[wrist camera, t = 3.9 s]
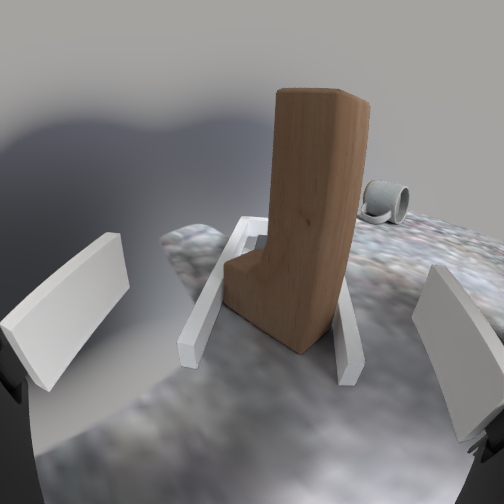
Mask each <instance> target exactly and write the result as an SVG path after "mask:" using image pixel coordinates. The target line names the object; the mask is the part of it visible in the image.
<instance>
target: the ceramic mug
mask: <svg viewBox="0 0 504 504" xmlns="http://www.w3.org/2000/svg"><path fill="white" fill-rule="evenodd" d="M409 200H410V193H409V189H408V187H407V186H404V185H399V184H395V183H390V182H385V181H381V180H373V181H371V182H369V183H368V185H367V186H366V188H365V191H364V194H363V206H362V208H361V216H362V218H363V219H364V220H365V221H366V222H369V223H371V224H380V223H384V222H385V221H390V222H392V223H395V224H400V223H401V222H402V221H403V220H404V218H405V216H406V214H407V210H408V206H409ZM365 210H366V211H367V212H369V213H370V214H372V215H375V216H378V217H371V216H368V215H366V214H365V213H364V212H365Z"/></svg>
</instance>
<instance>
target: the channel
mask: <svg viewBox="0 0 504 504" xmlns="http://www.w3.org/2000/svg"><path fill="white" fill-rule="evenodd" d="M267 231H268V218H260V217H249V216H241V218H240V220H239V222H238V224H237V226H236V227H235V229H234V231H233V233H232V235H231V237H230V239H229V241H228V242H227V244H226V246H225V248H224V250H223V252H222V254H221V256H220V258H219V259H218V261H217V263H216V265H215V267H214V269H213V271H212V273H211V275H210V277H209V279H208V281H207V282H206V284H205V286H204V288H203V290H202V292H201V294H200V296H199V298H198V300H197V302H196V304H195V306H194V308H193V310H192V312H191V314H190V316H189V318H188V320H187V322H186V324H185V326H184V328H183V330H182V332H181V334H180V336H179V338H178V340H177V342H176V343H177V348H178V353H179V358H180V363H181V366H184V367H188V368H193V369H197V368H198V365H199V362H200V360H201V357H202V355H203V352H204V349H205V347H206V344H207V341H208V339H209V336H210V333H211V331H212V328H213V326H214V323H215V320H216V318H217V315H218V313H219V310H220V307H221V305H222V302H223V299H224V271H223V265H224V263H225V262H226V261H228V260H231V259H233V258H236V257H238V256H241V253H242V250H243V248H244V245H245V243H246V240H247V237H248V236H253V237H258V239H257V242H256V246H255V249H259V248H260V249H264V247H265V244H266V241H267ZM255 249H254V250H255ZM332 330H333V338H334V346H335V355H336V365H337V375H338V385H345V386H354V385H355V383H356V381H357V380H358V378H359V376H360V374H361V371H362V369H363V367H364V365H365V359H364V354H363V349H362V344H361V340H360V335H359V331H358V327H357V322H356V318H355V314H354V310H353V306H352V302H351V298H350V294H349V291H348V287H347V283H346V279H345V276H344V279H343V283H342V287H341V291H340V295H339V299H338V303H337V306H336V310H335V314H334V317H333V321H332Z"/></svg>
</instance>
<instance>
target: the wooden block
mask: <svg viewBox="0 0 504 504" xmlns="http://www.w3.org/2000/svg"><path fill="white" fill-rule="evenodd" d="M369 118H370V105H369V103H368V102H366V101H365V100H363V99H360V98H358V97H356V96H354V95H352V94H349V93H347V92H345V91H342V90H340V89H329V88H282V89H279V90H277V93H276V107H275V123H274V141H273V158H272V174H271V188H270V204H269V217H268V231H267V241H266V244H265V247H264V249H260V248H259V249H255V250H253V251H250V252H248V253H246V254H243V255H241V256H238V257H236V258H233V259H231V260H228V261H226V262H225V263H224V265H223V271H224V303H225V304H226V306H228V307H229V308H231V309H232V310H234V311H235V312H236V313H238V314H239V315H241V316H242V317H244V318H245V319H247V320H248V321H250V322H251V323H253V324H254V325H255V326H257V327H258V328H260V329H261V330H263V331H264V332H266V333H267V334H269V335H270V336H272V337H273V338H275V339H277V340H278V341H280V342H281V343H283V344H284V345H286V346H287V347H289V348H290V349H292V350H294V351H295V352H297V353H299V354H302V353H304V352H305V351H306V350H307V349H308V348H310V347H311V346H312V345H313V344H314V343H315V342H316V341H317V340H318V339H319V338H320V337H322V336H323V335H324V334H325V333H326V332H327V331H328V330H329V329H330V328H331V324H332V321H333V317H334V314H335V310H336V306H337V303H338V299H339V295H340V291H341V287H342V283H343V279H344V275H345V270H346V266H347V261H348V257H349V252H350V247H351V243H352V238H353V233H354V228H355V222H356V217H357V211H358V206H359V200H360V193H361V187H362V179H363V173H364V165H365V157H366V149H367V139H368V129H369Z"/></svg>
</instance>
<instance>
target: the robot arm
mask: <svg viewBox="0 0 504 504" xmlns="http://www.w3.org/2000/svg"><path fill="white" fill-rule="evenodd" d="M129 288H130V286H129V281H128V276H127V271H126V266H125V260H124V255H123V249H122V243H121V237H120V233H109V232H106V233H105V234H103V235H102V236H101V237H99V238H98V239H97V240H95V241H94V242H93V243H91V244H90V245H89V246H88V247H86V248H85V249H83V250H82V251H81V252H80V253H78V254H77V255H76V256H75V257H73V258H72V259H71V260H69V261H68V262H67V263H66V264H64V265H63V266H62V267H61V268H60V269H58V270H57V271H56V272H55V273H54V274H52V275H51V276H50V277H49V278H48V279H46V280H45V281H44V282H43V283H42V284H41V285H39V286H38V287H37V288H36V289H34V290H33V291H32V292H31V293H30V294H29V295H28V296H27V297H26V298H24V299H23V300H22V302H20V304H18V305H17V306H16V307H15V308H14V309H13V310H12V311H11V312H10V313H9V314H8V315H7V316H6V317H5V318H4V319H3V320H2V321H1V322H0V504H45V503H44V500H43V496H42V492H41V488H40V484H39V480H38V475H37V470H36V465H35V460H34V454H33V447H32V439H31V431H30V419H29V402H28V383H27V380H26V379H25V376H26V375H27V374H29V375H30V377H31V378H32V379H33V381H34V382H35V384H36V385H38V386H40V387H41V388H43V389H45V390H46V391H48V392H50V391H51V389H52V388H53V386H54V384H55V383H56V382H57V381H58V379H59V377H60V376H61V375H62V373H63V372H64V371H65V369H66V368H67V366H68V365H69V363H70V362H71V361H72V360H73V358H74V357H75V356H76V354H77V353H78V352H79V350H80V349H81V348H82V346H83V345H84V344H85V342H86V341H87V340H88V338H89V337H90V336H91V335H92V333H93V332H94V331H95V329H96V328H97V327H98V326H99V324H100V323H101V322H102V321H103V319H104V318H105V317H106V316H107V314H108V313H109V312H110V311H111V309H112V308H113V307H114V306H115V305H116V303H117V302H118V301H119V300H120V299H121V297H122V296H123V295H124V294H125V293H126V291H127V290H128V289H129ZM411 318H412V320H413V322H414V324H415V326H416V329H417V331H418V333H419V335H420V337H421V340H422V342H423V344H424V347H425V349H426V351H427V354H428V356H429V359H430V361H431V364H432V366H433V369H434V371H435V374H436V376H437V379H438V382H439V384H440V387H441V390H442V393H443V396H444V398H445V401H446V404H447V407H448V411H449V414H450V417H451V420H452V423H453V427H454V430H455V434H456V437H457V441H458V443H460V442H464V441H467V440H470V439H473V438H475V437H476V436H477V435H478V434H479V433H480V432H481V431H482V430H483V429H485V430H486V433H487V434H486V435H485V436H484V437H483V438H481V439H480V440H479V441H478V442H477V443H476V444H474V445H473V446H472V447H471V448H470V449H469V451H468V452H467V453H469V454H470V453H471V452H472V451H473V450H475V449H476V448H477V447H479V448H478V450H477V451H476V452H475V453H474V454H473V456H475V459H474V462H473V464H472V467H471V469H470V472H469V474H468V476H467V479H466V481H465V483H464V485H463V488H462V490H461V492H460V494H459V496H458V498H457V500H456V502H455V504H504V342H503V340H502V339H501V338H500V337H499V336H498V335H497V334H496V333H495V331H494V330H493V328H492V327H491V325H490V324H489V322H488V321H487V320H486V318H485V317H484V315H483V314H482V312H481V311H480V310H479V308H478V307H477V305H476V304H475V303H474V301H473V300H472V299H471V297H470V296H469V295H468V293H467V292H466V291H465V290H464V288H463V287H462V286H461V284H460V283H459V282H458V281H457V279H456V278H455V277H454V276H453V275H452V273H451V272H450V271H449V270H448V268H447V267H446V266H441V265H431V268H430V271H429V274H428V277H427V280H426V282H425V285H424V288H423V290H422V293H421V295H420V298H419V300H418V303H417V305H416V308H415V310H414V312H413V315H412V317H411Z"/></svg>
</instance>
